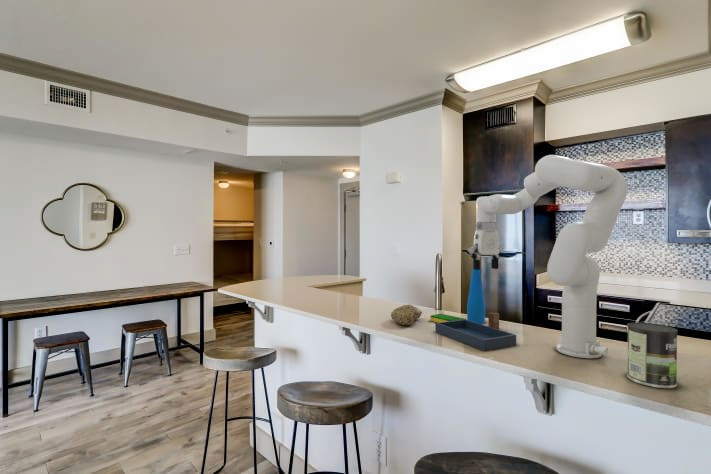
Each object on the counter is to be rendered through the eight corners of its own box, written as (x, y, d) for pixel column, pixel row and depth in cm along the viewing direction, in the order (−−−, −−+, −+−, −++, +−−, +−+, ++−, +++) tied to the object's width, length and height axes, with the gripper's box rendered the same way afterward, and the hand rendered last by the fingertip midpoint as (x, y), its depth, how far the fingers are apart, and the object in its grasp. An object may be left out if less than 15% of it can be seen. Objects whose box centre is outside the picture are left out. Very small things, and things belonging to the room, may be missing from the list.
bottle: (484, 324, 158) (485, 252, 157) (466, 323, 160) (467, 251, 160) (485, 320, 164) (485, 251, 164) (467, 319, 167) (468, 251, 167)
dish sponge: (456, 327, 153) (456, 321, 153) (429, 320, 164) (429, 315, 164) (466, 324, 158) (466, 318, 158) (440, 318, 168) (440, 313, 168)
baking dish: (516, 345, 129) (516, 334, 129) (484, 351, 122) (484, 340, 122) (464, 328, 152) (464, 319, 152) (435, 332, 145) (435, 322, 145)
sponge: (402, 319, 173) (378, 317, 157) (406, 302, 173) (383, 299, 157) (427, 328, 165) (405, 328, 149) (431, 311, 165) (410, 309, 149)
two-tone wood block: (507, 334, 142) (507, 314, 142) (497, 335, 140) (497, 315, 140) (489, 328, 150) (489, 310, 150) (480, 330, 148) (480, 311, 148)
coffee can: (682, 382, 97) (683, 327, 96) (669, 392, 91) (670, 334, 90) (634, 370, 105) (635, 320, 105) (620, 378, 99) (620, 325, 99)
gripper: (476, 226, 145) (475, 270, 145) (508, 227, 153) (508, 269, 153) (462, 227, 152) (462, 269, 152) (495, 227, 159) (494, 267, 160)
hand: (485, 269), depth 153 cm, fingers open, 9 cm apart
